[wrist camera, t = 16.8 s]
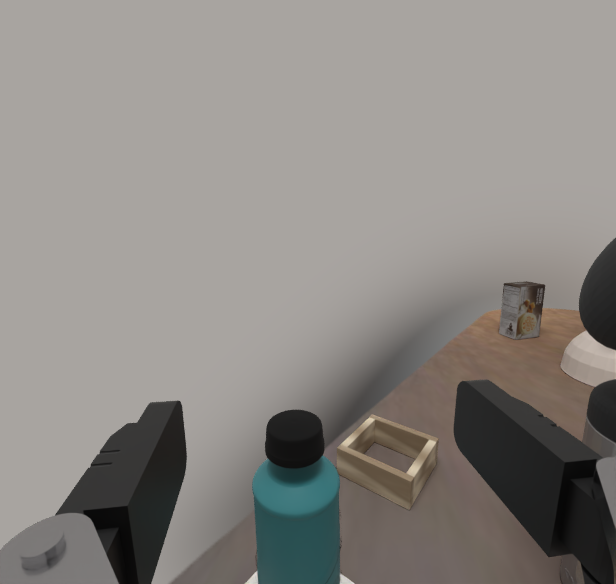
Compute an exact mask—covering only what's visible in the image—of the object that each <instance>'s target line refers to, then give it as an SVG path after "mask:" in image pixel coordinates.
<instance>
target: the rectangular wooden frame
mask: <svg viewBox="0 0 616 584" xmlns="http://www.w3.org/2000/svg"><path fill="white" fill-rule="evenodd" d="M438 440H439V439H438V438H436V437H433V436H430V435H427V434H425V433H422V432H419V431H416V430H414V429H411V428H408V427H405V426H403V425H400V424H397V423H394V422H392V421H389V420H386V419H383V418H381V417H378V416H375V415H371V416H370V417H369V418H368V419H367V420H366V421H365V422H364V423H363V424H362V425H361V426H360V427H359V428H358V429H357V430H356V431H354V432H353V433H352V434H351V435H350V436H349V437H348V438H347V439H346V440H345V441H344V442H343V443H342V444H341V445H340V446H339V447H338V448H337V472H338V474H339V475H341V476H343V477H345V478H347V479H349V480H351V481H353V482H355V483H357V484H359V485H361V486H363V487H365V488H367V489H369V490H371V491H372V492H374V493H376V494H378V495H380V496H382V497H384V498H386V499H388V500H390V501H392V502H394V503H396V504H398V505H400V506H402V507H404V508H406V509H408V510H410V508H411V507H412V505H413V503H414V501H415V500H416V498H417V496H418V494H419V493H420V491H421V489H422V488H423V486H424V484H425V482H426V481H427V479H428V477H429V476H430V474H431V472H432V470H433V469H434V467H435V465H436V464H437V453H438ZM374 442H375V443H378V444H380V445H383V446H385V447H388V448H390V449H392V450H395V451H397V452H400V453H402V454H404V455H407V456H409V457H412V458H414V459H416V460H415V461H414V463H413V464H412V466H411V467H410V469H409V470H408V472H407V473H404V472H402V471H400V470H397V469H395V468H393V467H391V466H388V465H386V464H384V463H382V462H379V461H377V460H375V459H373V458H371V457H368V456H366V455H364V453H365V452H366V451H367V450H368V448H369V447H370V446H371V445H372V444H373V443H374Z"/></svg>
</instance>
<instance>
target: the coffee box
mask: <svg viewBox="0 0 616 584" xmlns="http://www.w3.org/2000/svg"><path fill="white" fill-rule="evenodd" d="M544 291H545V285H544V284H537V283H532V282H515V283H504V289H503V299H502V309H501V319H500V329H499V334H501V335H504V336H507V337H509V338H512V339H515V340H518V339H525V338H532V337H539V332H540V324H541V315H542V307H543V299H544Z"/></svg>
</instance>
